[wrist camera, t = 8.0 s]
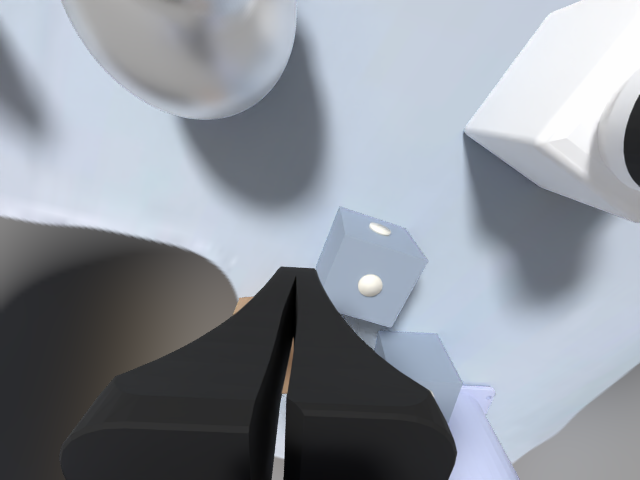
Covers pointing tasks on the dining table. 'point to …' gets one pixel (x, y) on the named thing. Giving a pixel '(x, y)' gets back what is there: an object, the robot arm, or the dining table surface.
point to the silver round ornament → (189, 50)
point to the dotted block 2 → (423, 364)
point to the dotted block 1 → (369, 267)
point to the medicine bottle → (573, 107)
